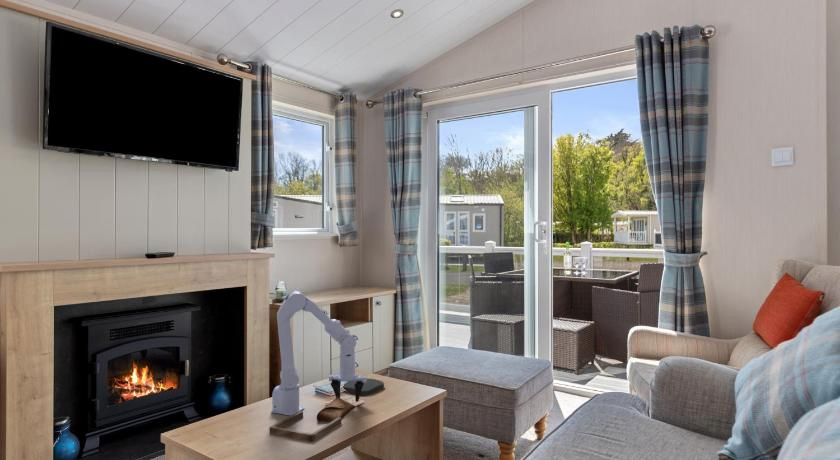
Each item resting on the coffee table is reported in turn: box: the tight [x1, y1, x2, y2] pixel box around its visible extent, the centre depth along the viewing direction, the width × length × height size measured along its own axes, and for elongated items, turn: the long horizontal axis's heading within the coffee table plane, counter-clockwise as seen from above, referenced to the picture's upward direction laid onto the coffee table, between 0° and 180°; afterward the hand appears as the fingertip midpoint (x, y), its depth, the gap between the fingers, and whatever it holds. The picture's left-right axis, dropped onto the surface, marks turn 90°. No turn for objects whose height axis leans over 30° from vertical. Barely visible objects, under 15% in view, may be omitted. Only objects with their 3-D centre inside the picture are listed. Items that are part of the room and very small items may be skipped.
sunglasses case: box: [316, 396, 355, 424], centre depth 184 cm, size 18×7×7 cm
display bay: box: [269, 410, 342, 443], centre depth 170 cm, size 17×16×2 cm
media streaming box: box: [342, 377, 385, 397], centre depth 212 cm, size 15×15×3 cm
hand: (347, 400), depth 193 cm, fingers open, 7 cm apart
